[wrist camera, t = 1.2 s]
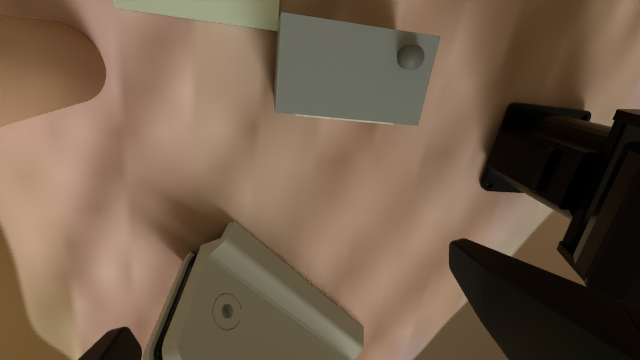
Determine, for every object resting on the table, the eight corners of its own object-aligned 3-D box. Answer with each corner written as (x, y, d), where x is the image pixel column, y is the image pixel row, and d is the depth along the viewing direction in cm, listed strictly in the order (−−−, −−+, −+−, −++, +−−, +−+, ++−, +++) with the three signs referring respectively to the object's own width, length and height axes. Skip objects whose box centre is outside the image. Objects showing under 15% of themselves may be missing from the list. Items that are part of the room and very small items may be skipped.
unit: (396, 39, 18) (447, 36, 13) (382, 111, 20) (421, 134, 14) (278, 21, 17) (281, 10, 11) (273, 100, 18) (274, 122, 13)
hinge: (366, 329, 28) (367, 481, 20) (325, 340, 30) (311, 481, 22) (229, 216, 21) (146, 376, 13) (190, 241, 23) (98, 392, 15)
